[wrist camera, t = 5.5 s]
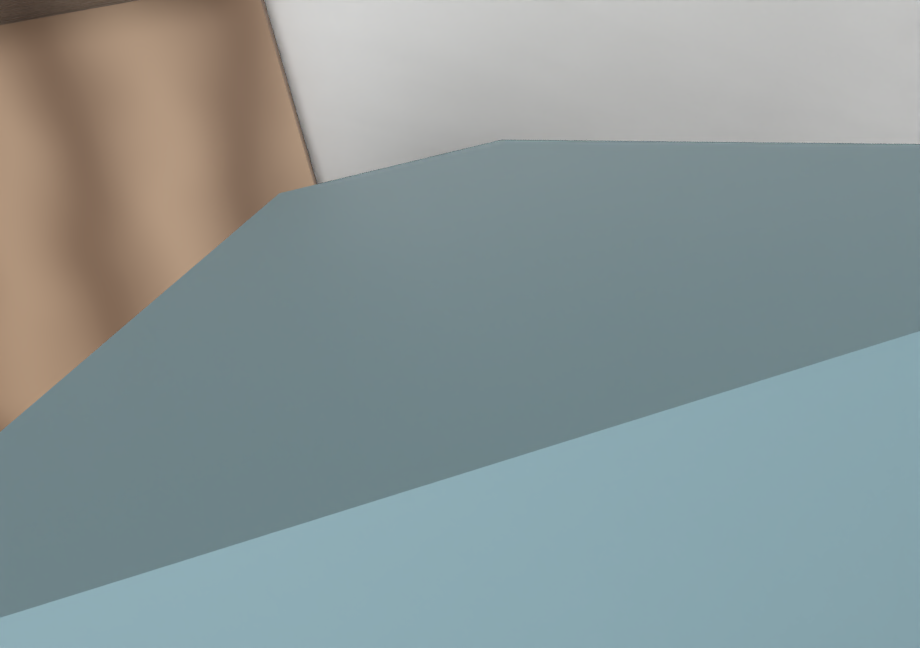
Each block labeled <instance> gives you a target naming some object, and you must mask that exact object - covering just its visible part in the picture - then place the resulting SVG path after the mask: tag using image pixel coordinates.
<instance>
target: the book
mask: <svg viewBox="0 0 920 648" xmlns="http://www.w3.org/2000/svg"><path fill="white" fill-rule="evenodd" d="M0 648H920V144H854V143H759V142H663V141H568V140H499V141H495V142H491V143H487V144H482V145H478V146H474V147H470V148H466V149H462V150H457V151H453V152H449V153H445V154H441V155H437V156H432V157H428V158H424V159H420V160H416V161H412V162H407V163H403V164H399V165H395V166H391V167H387V168H382V169H378V170H374V171H370V172H366V173H362V174H358V175H353V176H349V177H345V178H341V179H337V180H333V181H328V182H324V183H320V184H316V185H312V186H308V187H303V188H299V189H295V190H291V191H287V192H283V193H279V194H278V195H277V196H276V197H274V198H273V199H272V200H271V201H270V202H269V203H267V204H266V205H265V206H264V207H263V208H262V209H260V210H259V211H258V212H257V213H256V214H255V215H253V216H252V217H251V218H250V219H249V220H247V221H246V222H245V223H244V224H243V225H242V226H240V227H239V228H238V229H237V230H236V231H235V232H233V233H232V234H231V235H230V236H229V237H228V238H226V239H225V240H224V241H223V242H222V243H221V244H219V245H218V246H217V247H216V248H215V249H214V250H212V251H211V252H210V253H209V254H208V255H207V256H205V257H204V258H203V259H202V260H201V261H200V262H198V263H197V264H196V265H195V266H194V267H192V268H191V269H190V270H189V271H188V272H187V273H185V274H184V275H183V276H182V277H181V278H180V279H178V280H177V281H176V282H175V283H174V284H173V285H171V286H170V287H169V288H168V289H167V290H166V291H164V292H163V293H162V294H161V295H160V296H159V297H157V298H156V299H155V300H154V301H153V302H152V303H150V304H149V305H148V306H147V307H146V308H145V309H143V310H142V311H141V312H140V313H139V314H137V315H136V316H135V317H134V318H133V319H132V320H130V321H129V322H128V323H127V324H126V325H125V326H123V327H122V328H121V329H120V330H119V331H118V332H116V333H115V334H114V335H113V336H112V337H111V338H109V339H108V340H107V341H106V342H105V343H104V344H102V345H101V346H100V347H99V348H98V349H97V350H95V351H94V352H93V353H92V354H91V355H90V356H88V357H87V358H86V359H85V360H84V361H83V362H81V363H80V364H79V365H78V366H77V367H75V368H74V369H73V370H72V371H71V372H70V373H68V374H67V375H66V376H65V377H64V378H63V379H61V380H60V381H59V382H58V383H57V384H56V385H54V386H53V387H52V388H51V389H50V390H49V391H47V392H46V393H45V394H44V395H43V396H42V397H40V398H39V399H38V400H37V401H36V402H35V403H33V404H32V405H31V406H30V407H29V408H28V409H26V410H25V411H24V412H23V413H22V414H20V415H19V416H18V417H17V418H16V419H15V420H13V421H12V422H11V423H10V424H9V425H8V426H6V427H5V428H4V429H3V430H2V431H1V432H0Z"/></svg>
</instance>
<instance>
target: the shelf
mask: <svg viewBox="0 0 920 648" xmlns="http://www.w3.org/2000/svg"><path fill="white" fill-rule="evenodd" d="M316 184H317V182H316V179H315V175H314V172H313V168H312V165H311V162H310V158H309V155H308V151H307V148H306V144H305V141H304V137H303V134H302V130H301V127H300V123H299V120H298V116H297V113H296V109H295V106H294V102H293V99H292V96H291V92H290V89H289V85H288V82H287V78H286V75H285V71H284V68H283V64H282V61H281V57H280V54H279V50H278V47H277V43H276V40H275V37H274V33H273V30H272V26H271V23H270V19H269V16H268V12H267V9H266V5H265V2H264V0H0V432H1V431H2V430H3V429H4V428H5V427H6V426H8V425H9V424H10V423H11V422H12V421H13V420H15V419H16V418H17V417H18V416H19V415H20V414H22V413H23V412H24V411H25V410H26V409H28V408H29V407H30V406H31V405H32V404H33V403H35V402H36V401H37V400H38V399H39V398H40V397H42V396H43V395H44V394H45V393H46V392H47V391H49V390H50V389H51V388H52V387H53V386H54V385H56V384H57V383H58V382H59V381H60V380H61V379H63V378H64V377H65V376H66V375H67V374H68V373H70V372H71V371H72V370H73V369H74V368H75V367H77V366H78V365H79V364H80V363H81V362H83V361H84V360H85V359H86V358H87V357H88V356H90V355H91V354H92V353H93V352H94V351H95V350H97V349H98V348H99V347H100V346H101V345H102V344H104V343H105V342H106V341H107V340H108V339H109V338H111V337H112V336H113V335H114V334H115V333H116V332H118V331H119V330H120V329H121V328H122V327H123V326H125V325H126V324H127V323H128V322H129V321H130V320H132V319H133V318H134V317H135V316H136V315H137V314H139V313H140V312H141V311H142V310H143V309H145V308H146V307H147V306H148V305H149V304H150V303H152V302H153V301H154V300H155V299H156V298H157V297H159V296H160V295H161V294H162V293H163V292H164V291H166V290H167V289H168V288H169V287H170V286H171V285H173V284H174V283H175V282H176V281H177V280H178V279H180V278H181V277H182V276H183V275H184V274H185V273H187V272H188V271H189V270H190V269H191V268H192V267H194V266H195V265H196V264H197V263H198V262H200V261H201V260H202V259H203V258H204V257H205V256H207V255H208V254H209V253H210V252H211V251H212V250H214V249H215V248H216V247H217V246H218V245H219V244H221V243H222V242H223V241H224V240H225V239H226V238H228V237H229V236H230V235H231V234H232V233H233V232H235V231H236V230H237V229H238V228H239V227H240V226H242V225H243V224H244V223H245V222H246V221H247V220H249V219H250V218H251V217H252V216H253V215H255V214H256V213H257V212H258V211H259V210H260V209H262V208H263V207H264V206H265V205H266V204H267V203H269V202H270V201H271V200H272V199H273V198H274V197H276V196H277V195H278V194H279V193H283V192H287V191H291V190H295V189H299V188H303V187H308V186H312V185H316Z"/></svg>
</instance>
